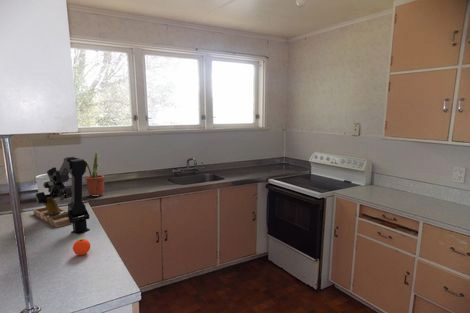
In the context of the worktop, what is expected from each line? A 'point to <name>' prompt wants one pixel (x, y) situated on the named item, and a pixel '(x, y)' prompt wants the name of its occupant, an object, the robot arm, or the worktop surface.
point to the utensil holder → (40, 182)
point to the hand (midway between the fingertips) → (52, 202)
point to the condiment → (52, 207)
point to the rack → (53, 217)
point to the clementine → (81, 246)
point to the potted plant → (95, 179)
